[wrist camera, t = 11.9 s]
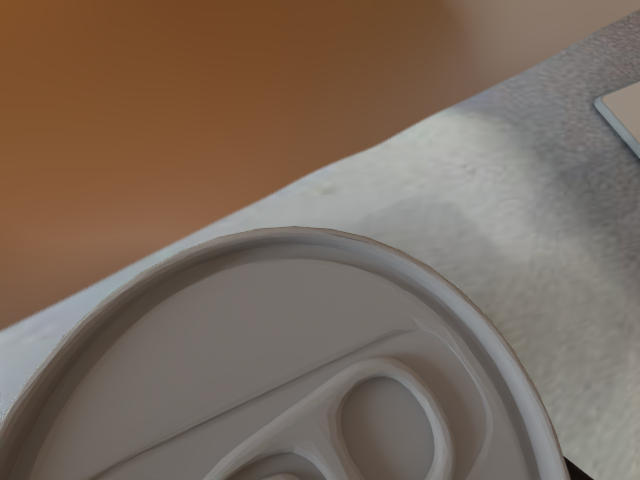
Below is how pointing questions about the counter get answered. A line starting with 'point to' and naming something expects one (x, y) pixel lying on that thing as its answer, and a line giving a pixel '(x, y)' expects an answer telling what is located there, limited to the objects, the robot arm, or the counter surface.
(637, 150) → the smartphone
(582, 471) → the robot arm
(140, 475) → the beverage can
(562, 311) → the counter surface
